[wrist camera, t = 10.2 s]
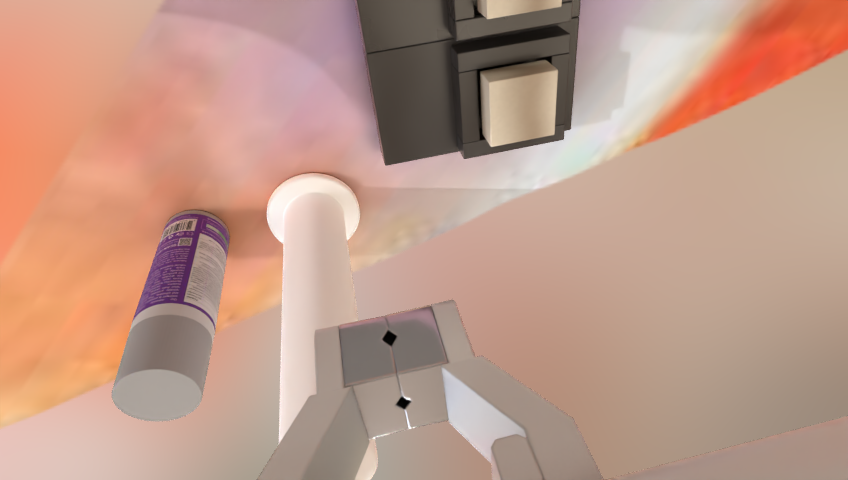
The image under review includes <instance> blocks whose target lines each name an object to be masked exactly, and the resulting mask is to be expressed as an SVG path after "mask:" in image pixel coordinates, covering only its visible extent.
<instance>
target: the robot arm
mask: <svg viewBox="0 0 848 480" xmlns="http://www.w3.org/2000/svg"><path fill="white" fill-rule="evenodd" d="M314 350H315V374H316V394H315V395H311V396H309V397H308V399H307V400H306V402H305V403H304V405H303V407H302V408H301V410H300V411H299V413H298V415H297V416H296V418H295V419H294V421H293V423H292V424H291V426H290V427H289V429H288V431H287V432H286V434H285V435H284V437H283V439H282V440H281V442H280V443H279V445H278V446H277V448H276V450H275V451H274V453H273V454H272V456H271V458H270V459H269V461H268V462H267V464H266V466H265V467H264V469H263V471H262V472H261V474H260V475H259V477H258V478H257V480H355V478H356V475H357V473H358V470H359V468H360V465H361V463H362V460H363V458H364V455H365V453H366V450H367V448H368V445H369V443H370V441H369V440H370V439H374V438H377V437H381V436H385V435H388V434H392V433H395V432H399V431H403V430H407V429H411V428H416V427H420V426H425V425H430V424H434V423H439V422H443V421H448V420H449V423H450V424H451V425H452V426H453V427H454V428H455V429H456V430H458V431H459V432H460V433H461V435H463V436H464V437H465V438H466V439H467V440H468V441H469V442H470V443H471V444H472V445H473V446H474V447H475V448H476V449H477V450H478V451H479V452H480V453H481V454H482V455H483V456H484V457H485V458H486V459H487V460H488V461H489V462H490V463H491V464H492V480H604V479H603V477H602V475H601V473H600V471H599V469H598V467H597V465H596V463H595V461H594V459H593V457H592V455H591V453H590V451H589V449H588V447H587V445H586V443H585V441H584V439H583V437H582V435H581V433H580V431H579V429H578V427H577V425H576V423H575V421H574V419H573V418H572V417H571V416H569V415H568V414H566V413H565V412H563V411H562V410H561V409H559V408H558V407H556V406H555V405H553V404H552V403H550V402H549V401H548V400H546V399H545V398H543V397H542V396H540V395H539V394H537V393H536V392H534V391H533V390H532V389H530V388H529V387H527V386H526V385H524V384H523V383H521V382H520V381H519V380H517V379H516V378H514V377H513V376H511V375H510V374H508V373H507V372H506V371H504V370H503V369H501V368H500V367H498V366H497V365H495V364H494V363H493V362H491V361H490V360H488V359H487V358H485V357H484V356H477V357H475V354H474V352H473V349H472V346H471V343H470V341H469V338H468V335H467V332H466V329H465V327H464V324H463V321H462V319H461V316H460V313H459V310H458V308H457V305H456V303H455V301H454V300H449V301H445V302H440V303H436V304H432V305H431V306H430V305H427V306H423V307H419V308H414V309H410V310H406V311H402V312H398V313H393V314H389V315H385V316H381V317H376V318H371V319H366V320H361V321H356V322H351V323H346V324H341V325H338V326H333V327H328V328H323V329H318V330H315V334H314ZM408 426H409V427H408ZM606 480H848V416H844V417H840V418H837V419H833V420H829V421H825V422H821V423H818V424H814V425H810V426H807V427H803V428H799V429H795V430H791V431H788V432H784V433H780V434H777V435H772V436H768V437H765V438H761V439H757V440H753V441H750V442H746V443H742V444H738V445H734V446H731V447H727V448H723V449H719V450H715V451H712V452H708V453H704V454H700V455H696V456H693V457H689V458H685V459H682V460H678V461H674V462H670V463H666V464H662V465H659V466H655V467H651V468H647V469H644V470H640V471H636V472H632V473H628V474H625V475H621V476H617V477H613V478H609V479H606Z"/></svg>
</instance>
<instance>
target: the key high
mask: <svg viewBox="0 0 848 480" xmlns="http://www.w3.org/2000/svg"><path fill="white" fill-rule="evenodd" d="M561 6H562V0H477V10H478V11H479V12H480V13H481V14H482V15H483V16H484V17H486V18H487V19H492V18H498V17H504V16H510V15H516V14H521V13H527V12H533V11H539V10H545V9H551V8H556V7H561Z"/></svg>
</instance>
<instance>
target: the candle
mask: <svg viewBox="0 0 848 480" xmlns="http://www.w3.org/2000/svg"><path fill="white" fill-rule="evenodd" d="M359 220H360V208H359V203H358V200H357V198H356V196H355V194H354V192H353V191H352V190H351V189H350V188H349V187H348V186H347V185H346V184H345V183H344V182H342V181H341V180H339V179H337V178H335V177H332V176H329V175H326V174H320V173H308V174H301V175H298V176H295V177H292V178H290V179H288V180H286V181H285V182H283V183H282V184H281V185H279V186H278V187H277V188H276V190H275V191H274V192H273V194H272V195H271V197H270V199H269V202H268V206H267V221H268V225H269V228H270V230H271V231H272V233H273V234H274V236H275V237H276V238H277V239H278V240H279V241H280V242H281V243H283V244H284V248H283V290H282V332H281V375H280V417H279V443H280V442H281V440H282V439H283V437H284V435H285V434H286V432H287V431H288V429H289V427H290V426H291V424H292V423H293V421H294V419H295V418H296V416H297V415H298V413H299V411H300V410H301V408H302V407H303V405H304V403H305V402H306V400H307V399H308V397H309V396H311V395H315V394H316V374H315V350H314V334H315V330H318V329H323V328H328V327H333V326H338V325H341V324H346V323H351V322H356V321H359V320H358V313H357V306H356V300H355V292H354V285H353V278H352V270H351V263H350V256H349V249H348V242H347V240H348V239H349V238H350V237H351V236H352V235H353V234H354V232H355V231H356V229H357V226H358V224H359ZM369 441H370V443H369V445H368V448H367V450H366V453H365V455H364V458H363V460H362V463H361V465H360V468H359V470H358V473H357V475H356V478H355V480H370V479H371V477H372V476H373V474H374V473H375V471H376V468H377V464H378V457H377V449H376V442H375V438H374V439H370V440H369Z"/></svg>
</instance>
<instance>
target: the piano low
mask: <svg viewBox="0 0 848 480" xmlns="http://www.w3.org/2000/svg"><path fill="white" fill-rule="evenodd" d="M578 25H579V17H573V18H572V20H571V21H570V22H565V23H560V24H554V25H548V26H542V27H537V28H531V29H525V30H520V31H514V32H508V33H502V34H497V35H491V36H485V37H479V38H474V39H468V40H462V41H456V40H455V39H454V38H452V39H446V40H441V41H435V42H429V43H423V44H418V45H412V46H406V47H400V48H395V49H389V50H383V51H377V52H372V53H366V52H365V49H364V47H363V51H364V57H365V62H366V68H367V74H368V79H369V85H370V91H371V96H372V102H373V108H374V114H375V119H376V125H377V131H378V136H379V142H380V148H381V153H382V156H383V159H384V163H385V165H392V164H397V163H402V162H407V161H412V160H417V159H422V158H427V157H433V156H438V155H443V154H448V153H453V152H458V151H460V152H461V154H462V156H463V158H464V159H467V158H472V157H477V156H482V155H488V154H493V153H498V152H503V151H508V150H513V149H518V148H523V147H528V146H533V145H538V144H543V143H548V142H554V141H559V140H563V139H564V131H566V130H570V129H571V116H572V103H573V90H574V77H575V64H576V51H577V38H578ZM540 60H547V61H548V62H549V63H550V64H551V65H553V66H554V67H555V68H556V69H558V80H557V97H556V115H555V133H554V135H550V136H545V137H540V138H535V139H530V140H525V141H520V142H515V143H509V144H504V145H499V146H494V147H491V146H490V145H489V143H488V142H487V140H486V139H485V137H484V136H483V134H482V118H481V92H480V71H485V70H490V69H496V68H501V67H507V66H512V65H518V64H523V63H529V62H534V61H540Z"/></svg>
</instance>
